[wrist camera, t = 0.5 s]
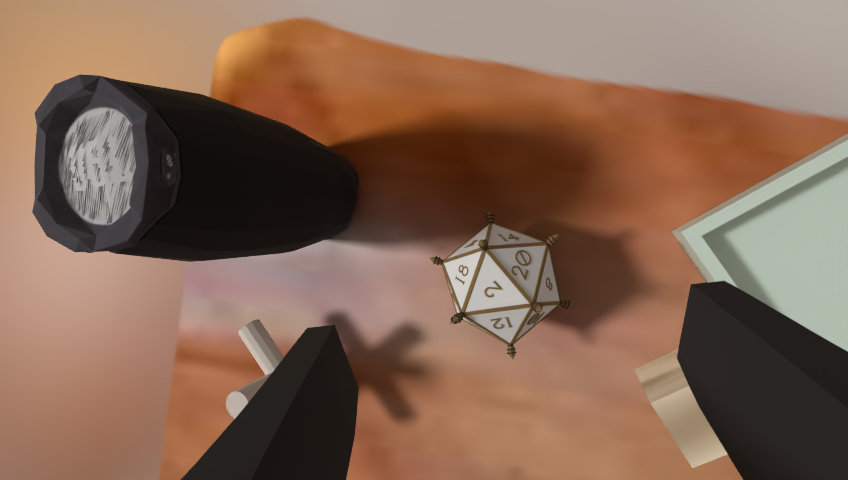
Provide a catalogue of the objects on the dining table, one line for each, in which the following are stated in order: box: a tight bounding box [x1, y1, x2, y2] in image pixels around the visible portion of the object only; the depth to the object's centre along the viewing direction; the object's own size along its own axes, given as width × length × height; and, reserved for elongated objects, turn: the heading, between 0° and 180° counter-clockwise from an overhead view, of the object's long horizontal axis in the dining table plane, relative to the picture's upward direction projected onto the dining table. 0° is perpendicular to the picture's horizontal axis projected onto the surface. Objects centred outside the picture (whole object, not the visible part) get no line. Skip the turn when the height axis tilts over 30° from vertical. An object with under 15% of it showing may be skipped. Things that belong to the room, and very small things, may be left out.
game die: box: [430, 211, 573, 359], centre depth 29 cm, size 9×8×10 cm
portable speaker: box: [33, 75, 358, 262], centre depth 28 cm, size 9×9×20 cm
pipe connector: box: [226, 320, 284, 419], centre depth 33 cm, size 10×10×10 cm
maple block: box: [634, 349, 727, 468], centre depth 27 cm, size 4×4×6 cm
